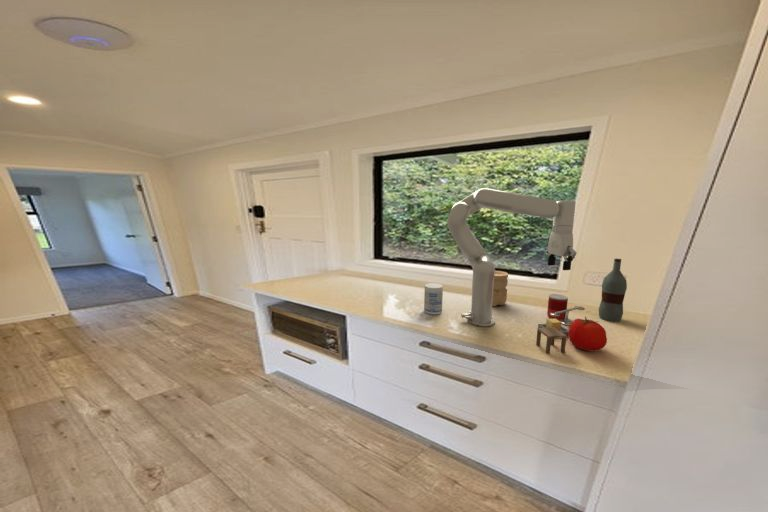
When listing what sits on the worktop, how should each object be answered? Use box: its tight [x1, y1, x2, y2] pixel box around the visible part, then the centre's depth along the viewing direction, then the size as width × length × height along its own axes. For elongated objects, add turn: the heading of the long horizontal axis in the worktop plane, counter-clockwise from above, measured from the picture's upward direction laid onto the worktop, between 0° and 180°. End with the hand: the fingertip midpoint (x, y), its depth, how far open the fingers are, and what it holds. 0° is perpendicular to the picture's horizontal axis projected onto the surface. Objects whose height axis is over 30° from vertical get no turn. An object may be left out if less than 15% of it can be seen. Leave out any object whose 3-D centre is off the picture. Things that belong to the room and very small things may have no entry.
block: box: [545, 318, 562, 331], centre depth 123 cm, size 4×4×4 cm
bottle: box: [598, 258, 628, 323], centre depth 134 cm, size 9×9×30 cm
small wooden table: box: [535, 327, 568, 355], centre depth 110 cm, size 7×7×7 cm
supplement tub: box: [423, 282, 444, 316], centre depth 148 cm, size 10×10×15 cm
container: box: [492, 270, 509, 307], centre depth 159 cm, size 13×13×18 cm
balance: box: [550, 305, 585, 327], centre depth 131 cm, size 16×4×8 cm, turn 95°
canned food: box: [546, 293, 569, 321], centre depth 139 cm, size 8×8×11 cm
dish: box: [537, 323, 569, 338], centre depth 124 cm, size 9×9×2 cm
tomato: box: [568, 316, 608, 352], centre depth 109 cm, size 12×13×12 cm
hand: (558, 267), depth 124 cm, fingers open, 9 cm apart
